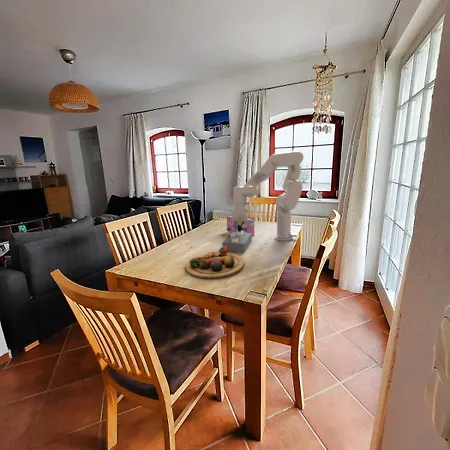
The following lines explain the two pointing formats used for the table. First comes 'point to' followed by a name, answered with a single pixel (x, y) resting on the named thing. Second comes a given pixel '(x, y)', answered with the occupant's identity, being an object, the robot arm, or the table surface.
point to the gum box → (246, 227)
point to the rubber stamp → (228, 232)
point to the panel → (238, 246)
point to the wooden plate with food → (215, 265)
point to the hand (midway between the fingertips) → (239, 231)
